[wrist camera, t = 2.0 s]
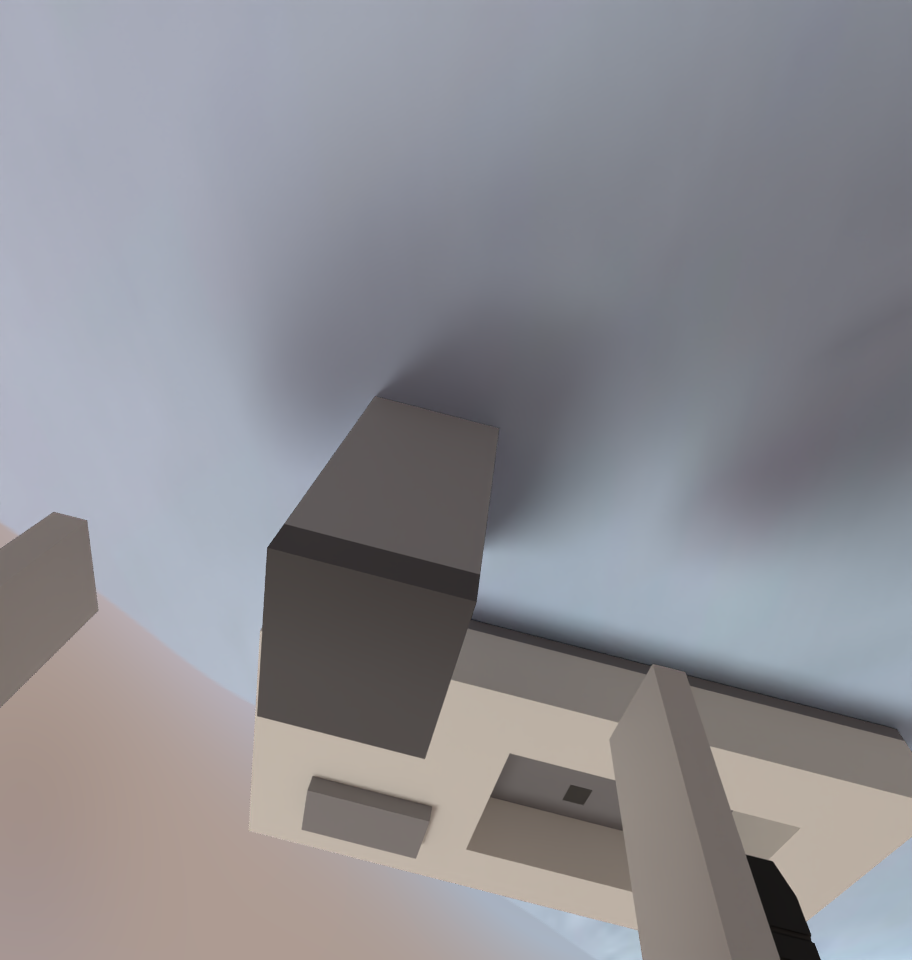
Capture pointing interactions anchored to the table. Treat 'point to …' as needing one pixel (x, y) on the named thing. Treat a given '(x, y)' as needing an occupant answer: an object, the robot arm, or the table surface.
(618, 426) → the table surface
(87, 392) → the table surface
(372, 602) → the plug
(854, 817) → the socket plate
